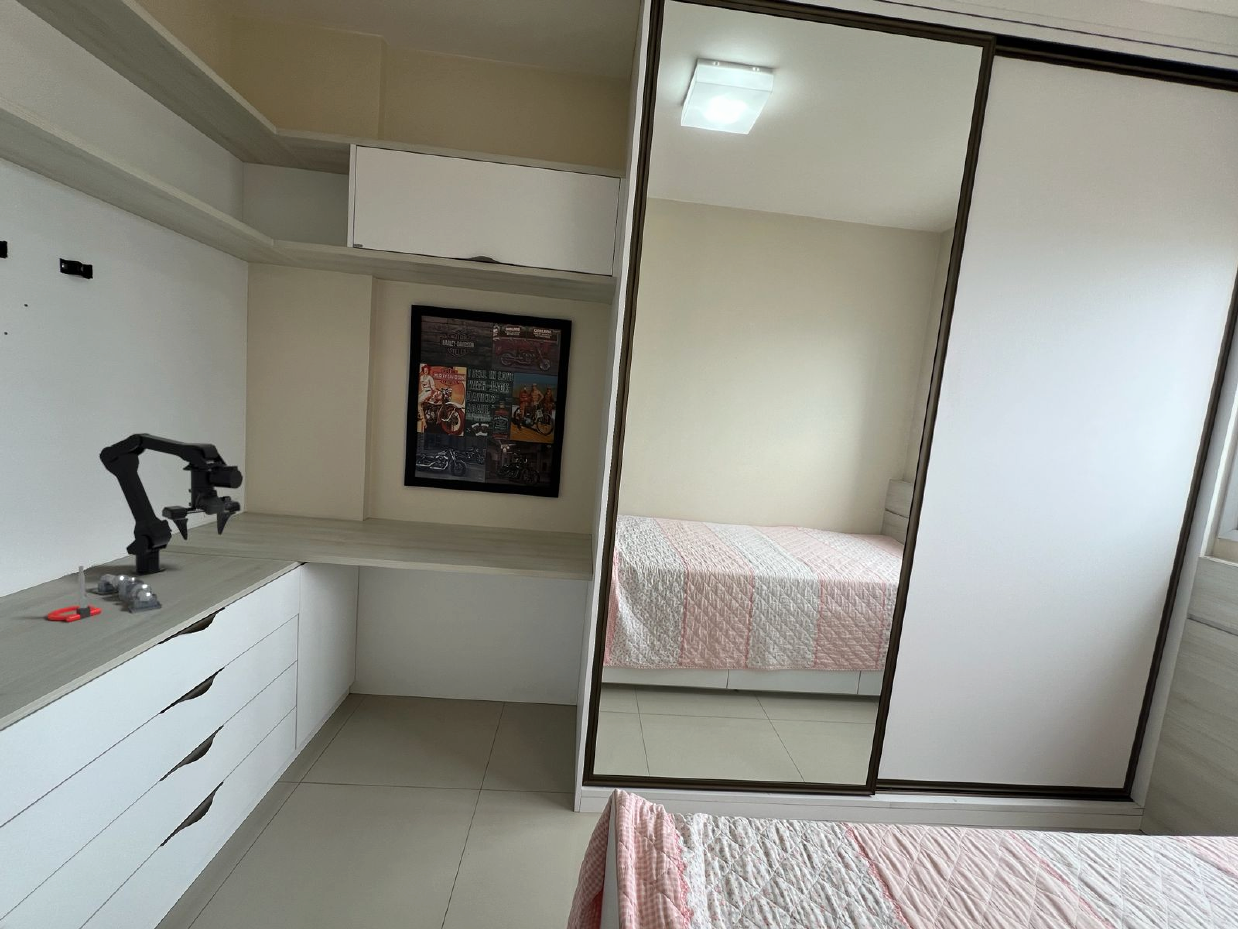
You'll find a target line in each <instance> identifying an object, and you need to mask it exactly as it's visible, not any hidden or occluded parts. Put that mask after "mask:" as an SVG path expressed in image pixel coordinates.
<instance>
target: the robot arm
mask: <svg viewBox="0 0 1238 929" xmlns="http://www.w3.org/2000/svg"><path fill="white" fill-rule="evenodd" d="M146 450H151V451H155V452H158V453H159V452H160V453H164V454H168V455H172V456H176V457H179V458H180V459H181V460H182V461H184V462H187V463H188V464H187V465H186V466H184V467H183V468H182V471H187V472H190V488H188V493H190V502H189V501H188V506H189V507H184V506H181V505H171V506H164V507H163V509H162V510H161V516H162V517H163V518H166V519H160V518H159V517H157V516H156V512H155V511H154V509H153V506H152V504H151V501H150V499H149V496H148V494H147V492H146V490H145V487H144V485H143V483H142V482H143V481H142V479H141V477H140V476H139V473H138V472H139V466H140V458H139V456H141V455H142V454H144V453H145V452H146ZM98 455H99V459H100V461H101V463H102V465H103V466H104V468H105V470H106V471H108V473H110V474H111V475H113V476H114V477H116V480H117V481H118V484H119V486H120V488H121V491H122V493H123V496H124V499H125V500H126V502H127V505H128V507H129V510H130V513H131V514H132V516H133V519H134V521H135V525H134V528H133V537H134V540H133V541H132V542H130V543H129V545H127V547H126V548H125V549H126V553H127V554H128V555H129V556H130V555H131V556H132V555H133V556H135V559H134V560H135V568H132V569H130V572H131V573H133V574H136V575H138V576H144V575H149V574H155V573H161V572H165V571H166V569H165V568H164V567H163V566H161V558H160V557H161V556H160V555H161V554H160V552H161V551H160V550H165V549H167V548H168V545H169V542H170V541H171V539H172V538H173V536H172V532H173V529H172V528H171V527H170V524H169V521H168V520H171V521H172V522H173V523H174V524H175V526H176V528H177V530H178V531H179V533H180V534H181V536H182V538H183V540H184V541H187V540H188V539H189V538H188V536H189V535H188V534H189V533H188V521H189V518H187V516H188V515H190V514H199V513H204V514H205V515H207V516H213V515H216V528H217V534H218V535H219V536H222V534H223V532H224V529H225V526H226V525H227V522H228V520H229V519H230V518H231V517H232V516H233V515H236V514H237V512H241V510H242V509H241V507H242V506H241V504H240V502H239V501H236V500H232V497H231V496H230V495H223V496H218V491H217V489H215V488H219V489H220V488H221V489H222V488H224V489H234V490H236V489H239V488H240V487H241V486H242V483H243V478H244V477H243V475H242V472H241V471H240V470H239V466H238V465H228V464H227V463H226V461H225V460H224V458H223V457H222V456H221V454H220V453H219V451H218V448H217V447H216V445H214V444H212V443H207V442H206V443H205V442H204V443H203V442H200V443H199V442H194V443H193V442H185V441H180V440H179V441H178V440H176V439H175V440H174V439H171V438H170V439H169V438H166V437H162V436H157V435H152V434H151V433H147V432H141V433H133V434H131V435H129V436H128V437H127V438H125V439H122V440H120V441H118V442H115V443H113V444H112V445H110V446H106V447H105V446H104V447H103V448H102V449H101V451H100V453H99V454H98Z"/></svg>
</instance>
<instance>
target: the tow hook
mask: <svg viewBox="0 0 1238 929" xmlns="http://www.w3.org/2000/svg"><path fill="white" fill-rule="evenodd" d="M85 576H86V575H85V573H84V565H80V566H78V574H77V580H78V582H77V583H78V605H74V606H69V607H68V606H67V607H63V608H59V609H56V610H53V611H51V612H49V613H48V614H47V615H46V616H47V619H48V620H50V621H65V622H67V623H71V622H74V621H78V620H83V619H86V618H90V617H92V616H95V615H98V614H100V613H102V610H101V608H100V607H97V608H95V606H92V605H88V597H87V595H86V592H87V591H86V577H85ZM68 612H76V613H75V614H74V613H72V614H64V613H68ZM61 614H62V615H61Z"/></svg>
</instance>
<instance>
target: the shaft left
mask: <svg viewBox="0 0 1238 929" xmlns="http://www.w3.org/2000/svg"><path fill="white" fill-rule="evenodd" d="M129 577H131V576H130V575H128V574H122V573H121V574H119V575H118V574H117V575H114V574H109V573H107V574H104V575H102V576H101V578H100V580H98V581H97V588H95V589H92V590H91V592H92V593H93V594H98V595H101V596H106V595H109V594H112V593H116V592H119V582H122V581H128V578H129Z"/></svg>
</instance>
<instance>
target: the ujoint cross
mask: <svg viewBox="0 0 1238 929" xmlns="http://www.w3.org/2000/svg"><path fill="white" fill-rule="evenodd" d="M138 584H145V581H144V580H141V579H139V578H136V577H135V576H130V577H129V578H128V581H122V582H119V591H118V594H119V596H118V597H119V600H121V601H123V602H126V603H127V602H133V597H132V596H131V590H132V588H133V587H134V586H136V585H138Z"/></svg>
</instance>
